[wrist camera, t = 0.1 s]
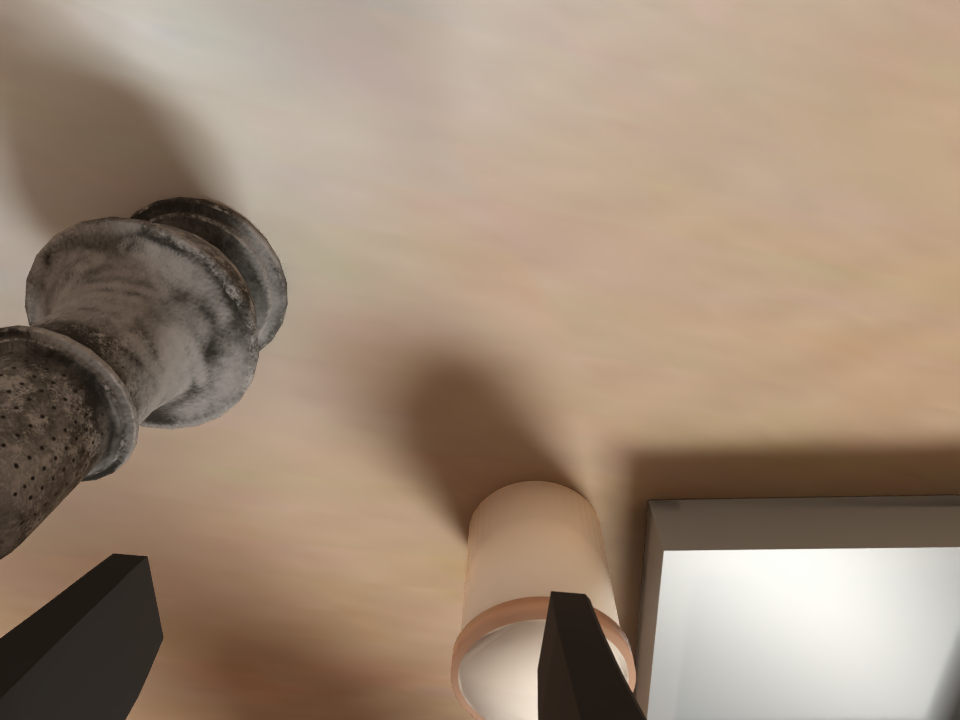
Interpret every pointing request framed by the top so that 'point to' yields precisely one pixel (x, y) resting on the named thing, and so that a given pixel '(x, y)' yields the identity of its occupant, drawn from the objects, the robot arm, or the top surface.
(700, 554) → the tray
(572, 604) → the robot arm
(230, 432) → the top surface
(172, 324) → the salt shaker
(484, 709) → the cup
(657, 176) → the top surface
